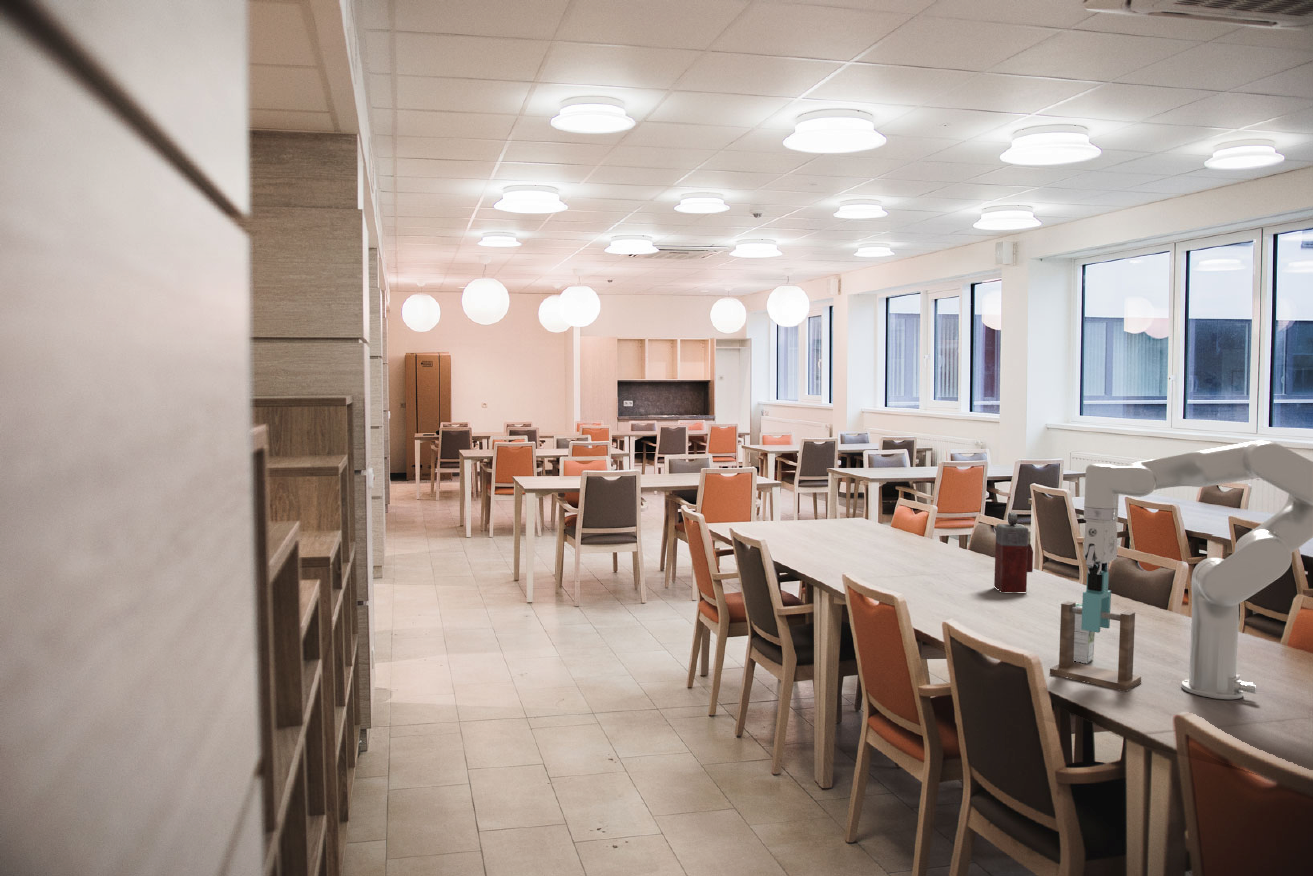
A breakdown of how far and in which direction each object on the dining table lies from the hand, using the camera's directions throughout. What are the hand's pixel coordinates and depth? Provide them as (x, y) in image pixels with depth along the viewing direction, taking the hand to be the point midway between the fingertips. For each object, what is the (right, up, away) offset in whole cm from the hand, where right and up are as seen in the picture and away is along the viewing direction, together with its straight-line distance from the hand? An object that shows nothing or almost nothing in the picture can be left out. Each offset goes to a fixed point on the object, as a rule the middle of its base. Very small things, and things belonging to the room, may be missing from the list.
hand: (1097, 588), depth 230 cm
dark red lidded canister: (+19, -18, +106) cm, 109 cm away
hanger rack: (0, -22, +1) cm, 22 cm away
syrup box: (+3, -22, +17) cm, 28 cm away
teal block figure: (0, -10, +1) cm, 10 cm away
